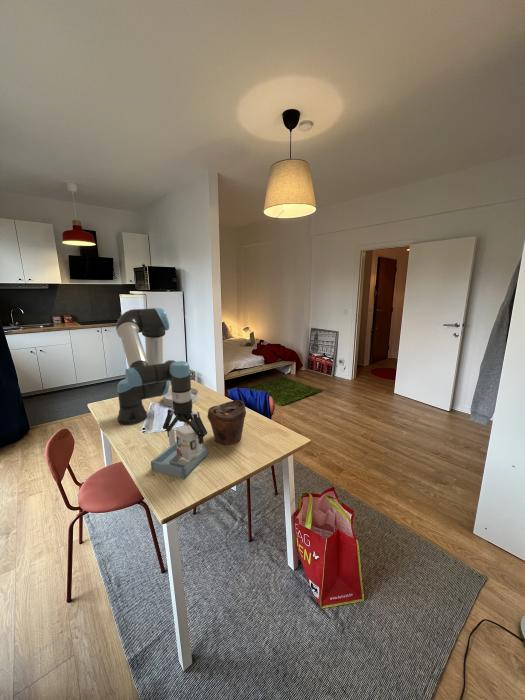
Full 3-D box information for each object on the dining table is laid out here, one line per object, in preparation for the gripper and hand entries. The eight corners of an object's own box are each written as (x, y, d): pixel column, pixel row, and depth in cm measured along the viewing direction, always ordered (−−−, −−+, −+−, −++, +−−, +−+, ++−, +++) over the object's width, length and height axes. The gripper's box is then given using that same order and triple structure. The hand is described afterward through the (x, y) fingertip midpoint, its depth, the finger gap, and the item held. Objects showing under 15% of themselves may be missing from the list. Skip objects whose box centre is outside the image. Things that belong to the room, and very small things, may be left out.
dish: (205, 396, 195) (204, 389, 194) (184, 409, 175) (183, 402, 174) (179, 392, 204) (178, 385, 203) (156, 404, 184) (155, 396, 183)
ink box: (176, 454, 122) (174, 428, 120) (186, 449, 126) (184, 424, 123) (188, 462, 117) (186, 435, 114) (199, 456, 120) (197, 430, 118)
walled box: (151, 470, 118) (150, 461, 117) (178, 447, 134) (177, 439, 133) (184, 479, 112) (183, 470, 112) (208, 454, 129) (207, 446, 128)
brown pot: (200, 445, 136) (198, 410, 132) (221, 426, 154) (220, 394, 150) (234, 453, 130) (233, 416, 126) (251, 432, 148) (252, 400, 144)
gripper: (150, 399, 117) (155, 446, 121) (204, 407, 108) (207, 458, 113) (163, 392, 124) (167, 437, 128) (214, 400, 115) (216, 447, 120)
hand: (185, 447), depth 121 cm, fingers open, 13 cm apart
